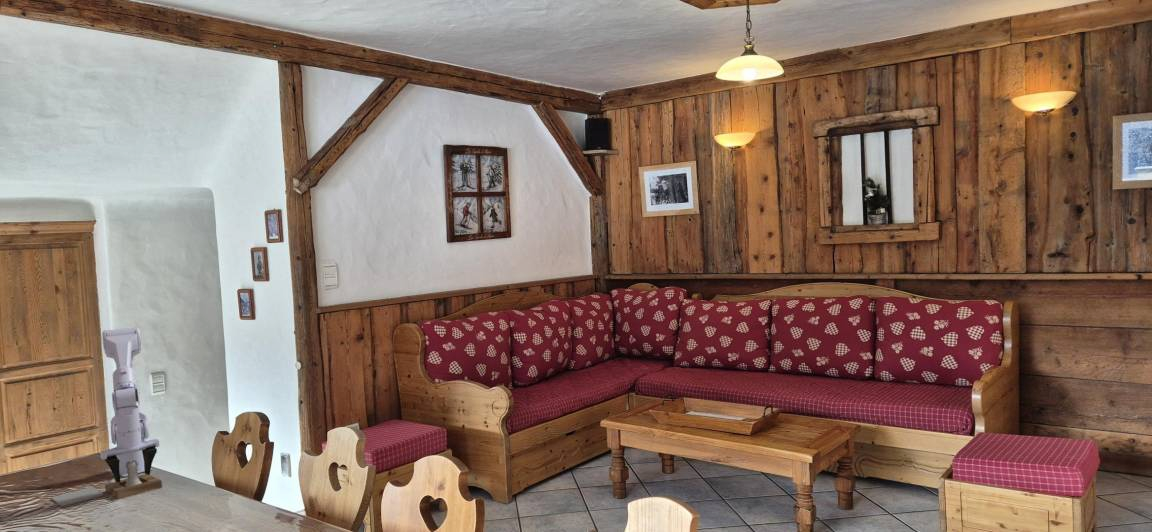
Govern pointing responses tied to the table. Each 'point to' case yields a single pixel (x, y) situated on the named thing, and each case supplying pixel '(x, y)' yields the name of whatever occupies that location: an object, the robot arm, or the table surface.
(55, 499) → the slate mat
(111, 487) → the square wooden frame
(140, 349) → the robot arm
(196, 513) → the table surface
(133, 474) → the rook chess piece
